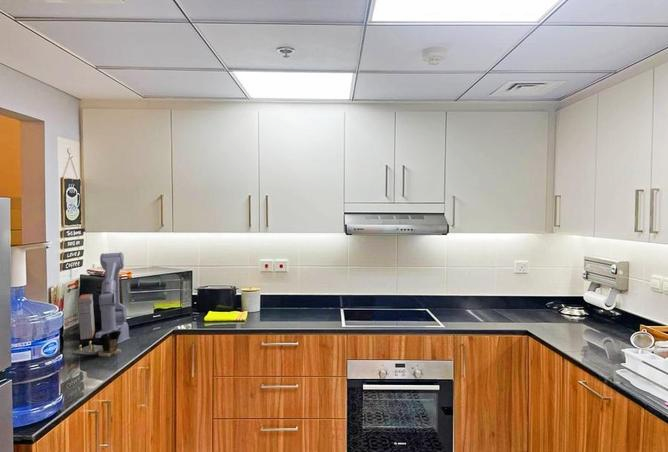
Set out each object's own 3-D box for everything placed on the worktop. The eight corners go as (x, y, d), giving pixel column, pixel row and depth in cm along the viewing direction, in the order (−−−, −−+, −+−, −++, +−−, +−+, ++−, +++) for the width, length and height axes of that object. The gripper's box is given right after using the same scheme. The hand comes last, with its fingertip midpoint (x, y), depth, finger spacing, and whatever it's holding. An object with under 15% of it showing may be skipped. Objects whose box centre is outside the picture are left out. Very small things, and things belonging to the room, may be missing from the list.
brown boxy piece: (107, 350, 208) (107, 337, 208) (124, 350, 206) (124, 338, 206) (95, 355, 200) (94, 342, 200) (112, 356, 198) (111, 343, 198)
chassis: (90, 347, 214) (89, 339, 213) (109, 347, 211) (109, 340, 211) (73, 353, 204) (73, 346, 204) (94, 354, 201) (93, 347, 201)
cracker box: (82, 333, 239) (80, 294, 238) (95, 331, 241) (93, 293, 240) (79, 340, 226) (77, 299, 225) (92, 338, 228) (90, 297, 228)
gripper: (104, 323, 194) (106, 354, 195) (127, 315, 209) (128, 344, 209) (90, 323, 196) (92, 354, 197) (114, 315, 210) (115, 344, 211)
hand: (110, 349), depth 203 cm, fingers closed on brown boxy piece, 4 cm apart
